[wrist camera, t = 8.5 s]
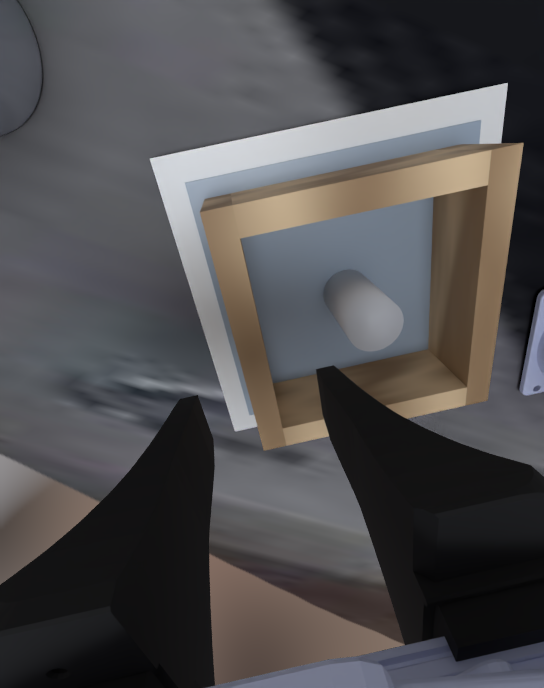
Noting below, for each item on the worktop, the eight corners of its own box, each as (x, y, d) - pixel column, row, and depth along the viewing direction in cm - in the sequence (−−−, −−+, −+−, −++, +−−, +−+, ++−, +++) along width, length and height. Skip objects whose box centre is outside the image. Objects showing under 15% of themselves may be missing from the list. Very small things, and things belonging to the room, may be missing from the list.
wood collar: (460, 144, 17) (523, 142, 13) (446, 361, 22) (487, 400, 19) (204, 198, 16) (199, 212, 13) (257, 403, 22) (263, 450, 19)
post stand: (493, 86, 17) (601, 60, 12) (465, 369, 24) (524, 424, 20) (153, 158, 16) (124, 161, 12) (234, 421, 24) (237, 488, 19)
